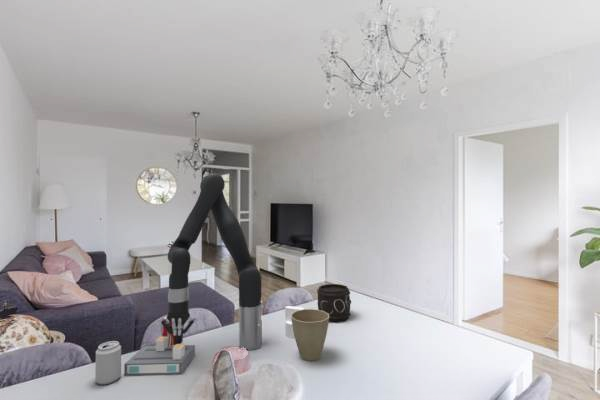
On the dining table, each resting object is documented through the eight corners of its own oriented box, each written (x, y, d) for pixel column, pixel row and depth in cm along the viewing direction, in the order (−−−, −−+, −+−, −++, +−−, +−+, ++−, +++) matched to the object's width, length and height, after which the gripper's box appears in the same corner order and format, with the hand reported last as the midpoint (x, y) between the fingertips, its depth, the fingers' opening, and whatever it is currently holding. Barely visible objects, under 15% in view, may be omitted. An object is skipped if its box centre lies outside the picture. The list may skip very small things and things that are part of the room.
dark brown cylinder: (354, 323, 153) (353, 291, 153) (318, 323, 153) (318, 292, 154) (349, 311, 171) (348, 283, 171) (317, 311, 171) (316, 283, 172)
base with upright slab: (282, 336, 138) (281, 309, 139) (290, 329, 146) (289, 304, 147) (300, 339, 135) (300, 311, 135) (307, 331, 143) (307, 305, 144)
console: (194, 355, 121) (194, 344, 122) (181, 374, 107) (181, 362, 107) (144, 356, 121) (144, 346, 121) (123, 375, 107) (124, 364, 107)
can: (103, 374, 108) (103, 340, 108) (125, 373, 108) (125, 339, 109) (90, 386, 100) (90, 349, 101) (114, 385, 101) (114, 348, 101)
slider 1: (167, 347, 120) (167, 336, 120) (163, 351, 116) (163, 339, 116) (159, 347, 120) (159, 336, 120) (155, 351, 116) (155, 340, 116)
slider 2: (184, 354, 113) (184, 343, 113) (181, 359, 109) (181, 347, 109) (176, 355, 113) (176, 343, 113) (172, 359, 109) (172, 347, 109)
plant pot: (302, 370, 109) (302, 324, 109) (285, 353, 122) (284, 312, 122) (337, 360, 116) (336, 317, 116) (317, 345, 129) (316, 306, 129)
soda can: (172, 348, 127) (172, 319, 128) (157, 347, 129) (157, 318, 129) (182, 341, 134) (182, 314, 135) (167, 340, 136) (167, 313, 136)
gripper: (198, 296, 123) (198, 339, 122) (165, 296, 122) (165, 340, 122) (192, 301, 115) (192, 348, 114) (157, 302, 115) (156, 348, 114)
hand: (178, 344), depth 118 cm, fingers closed
